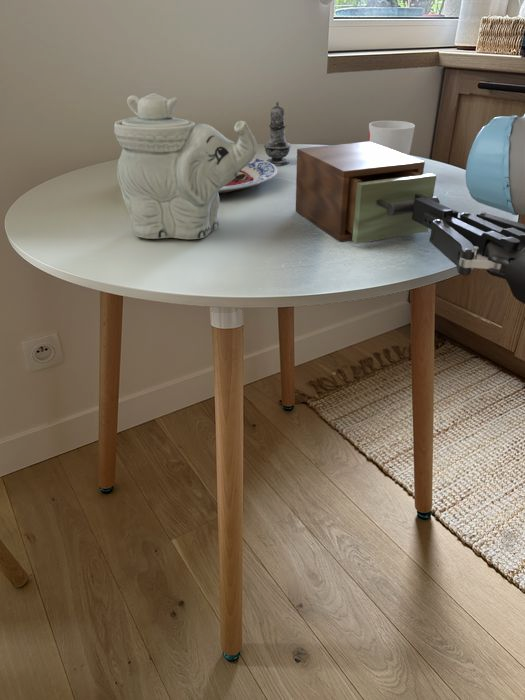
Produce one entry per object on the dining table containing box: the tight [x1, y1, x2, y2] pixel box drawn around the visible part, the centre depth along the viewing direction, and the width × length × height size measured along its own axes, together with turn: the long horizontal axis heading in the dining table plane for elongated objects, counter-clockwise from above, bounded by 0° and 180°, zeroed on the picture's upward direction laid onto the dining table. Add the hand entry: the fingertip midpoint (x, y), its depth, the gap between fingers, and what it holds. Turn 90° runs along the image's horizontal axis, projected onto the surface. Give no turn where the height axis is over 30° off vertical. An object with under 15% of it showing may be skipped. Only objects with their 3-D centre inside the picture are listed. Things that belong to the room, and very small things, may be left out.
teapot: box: [113, 92, 258, 240], centre depth 76 cm, size 16×15×19 cm
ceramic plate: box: [218, 157, 278, 194], centre depth 103 cm, size 26×26×3 cm
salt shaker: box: [263, 100, 292, 167], centre depth 113 cm, size 6×6×12 cm
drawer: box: [345, 170, 440, 244], centre depth 77 cm, size 18×12×8 cm, turn 22°
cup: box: [368, 120, 416, 156], centre depth 100 cm, size 8×8×10 cm
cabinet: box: [295, 140, 426, 242], centre depth 82 cm, size 15×13×10 cm
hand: (418, 208), depth 69 cm, fingers closed
